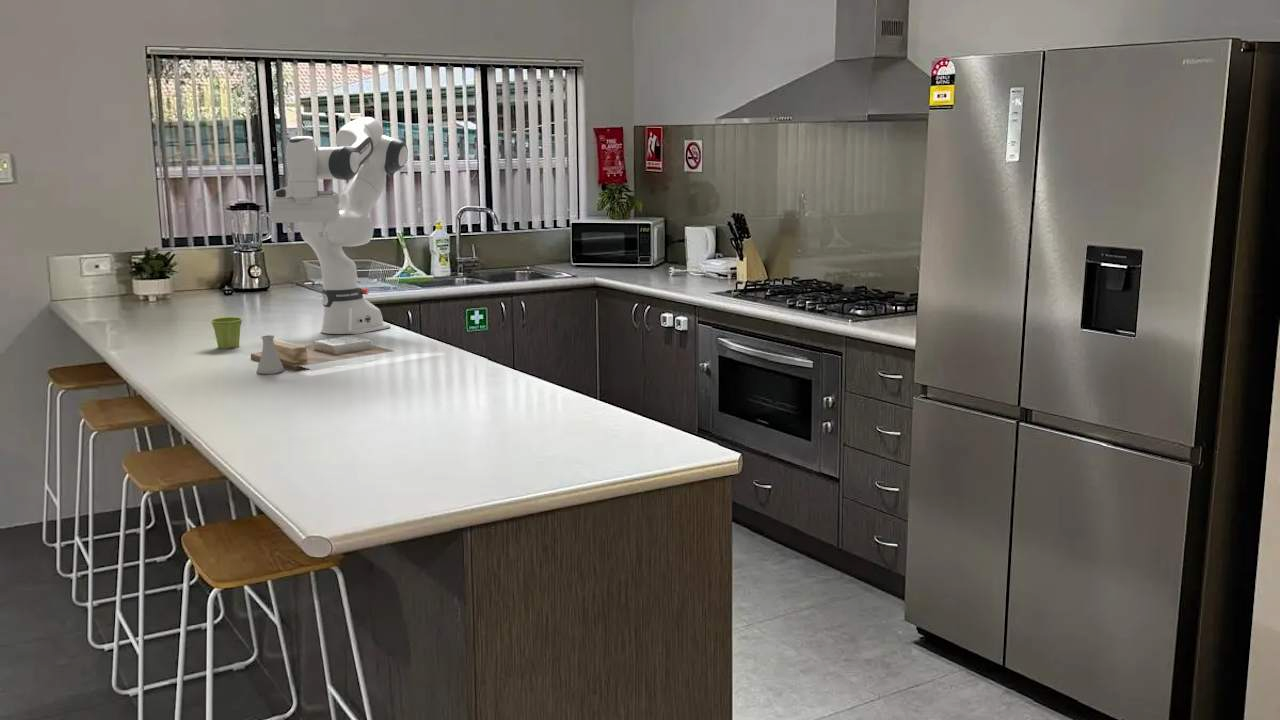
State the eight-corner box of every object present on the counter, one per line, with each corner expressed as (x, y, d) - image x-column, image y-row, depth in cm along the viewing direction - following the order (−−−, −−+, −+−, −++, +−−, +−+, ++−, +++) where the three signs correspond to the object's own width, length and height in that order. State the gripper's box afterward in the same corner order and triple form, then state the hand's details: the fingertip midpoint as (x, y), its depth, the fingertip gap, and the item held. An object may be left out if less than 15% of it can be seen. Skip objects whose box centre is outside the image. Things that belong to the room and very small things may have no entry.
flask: (276, 375, 311) (273, 338, 309) (251, 374, 312) (248, 338, 310) (289, 369, 318) (286, 334, 316) (265, 369, 319) (262, 333, 317)
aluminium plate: (351, 344, 348) (350, 335, 347) (371, 348, 339) (371, 340, 338) (314, 349, 340) (313, 341, 339) (334, 354, 331) (333, 345, 330)
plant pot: (250, 344, 359) (247, 316, 357) (236, 350, 350) (234, 321, 348) (221, 344, 360) (218, 317, 358) (207, 350, 351) (204, 321, 349)
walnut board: (347, 344, 356) (346, 339, 355) (395, 355, 335) (394, 350, 335) (250, 358, 335) (250, 353, 335) (296, 371, 315) (295, 366, 314)
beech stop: (277, 352, 335) (276, 339, 334) (307, 360, 322) (306, 346, 321) (264, 354, 332) (263, 341, 332) (294, 362, 319) (292, 348, 319)
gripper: (341, 190, 348) (344, 236, 350) (273, 191, 348) (277, 237, 350) (335, 191, 341) (338, 238, 344) (266, 192, 342) (270, 239, 344)
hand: (306, 237), depth 347 cm, fingers open, 8 cm apart
